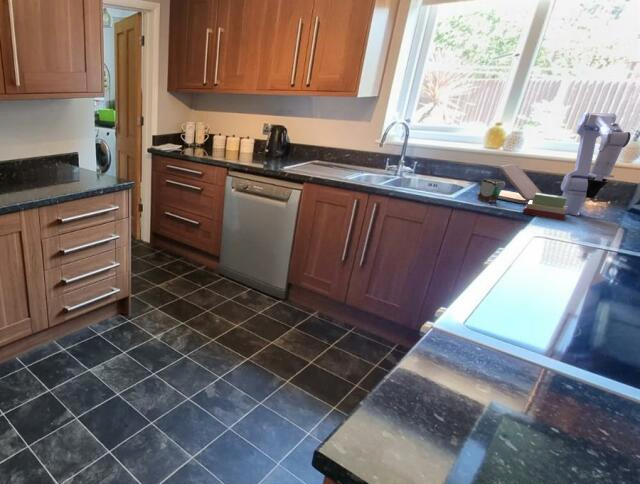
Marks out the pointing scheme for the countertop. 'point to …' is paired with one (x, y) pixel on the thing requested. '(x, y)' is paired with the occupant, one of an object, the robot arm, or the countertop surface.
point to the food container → (490, 190)
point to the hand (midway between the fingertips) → (589, 196)
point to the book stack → (545, 211)
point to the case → (517, 185)
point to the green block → (549, 200)
